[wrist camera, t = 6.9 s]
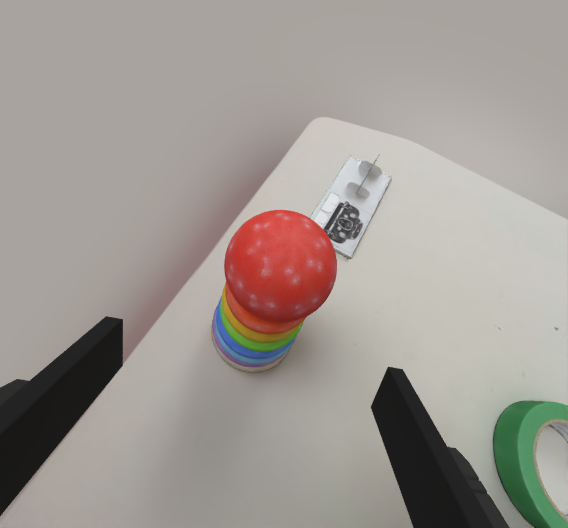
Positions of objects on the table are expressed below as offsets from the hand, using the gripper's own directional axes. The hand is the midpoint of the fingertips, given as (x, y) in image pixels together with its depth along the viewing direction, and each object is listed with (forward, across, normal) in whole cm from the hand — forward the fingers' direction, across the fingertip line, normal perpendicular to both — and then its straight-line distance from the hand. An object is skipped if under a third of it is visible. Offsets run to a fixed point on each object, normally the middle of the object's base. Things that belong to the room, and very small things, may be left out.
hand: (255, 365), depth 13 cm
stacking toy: (+12, 0, -6) cm, 14 cm away
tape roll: (+7, +30, -12) cm, 33 cm away
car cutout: (+25, +9, +6) cm, 28 cm away
